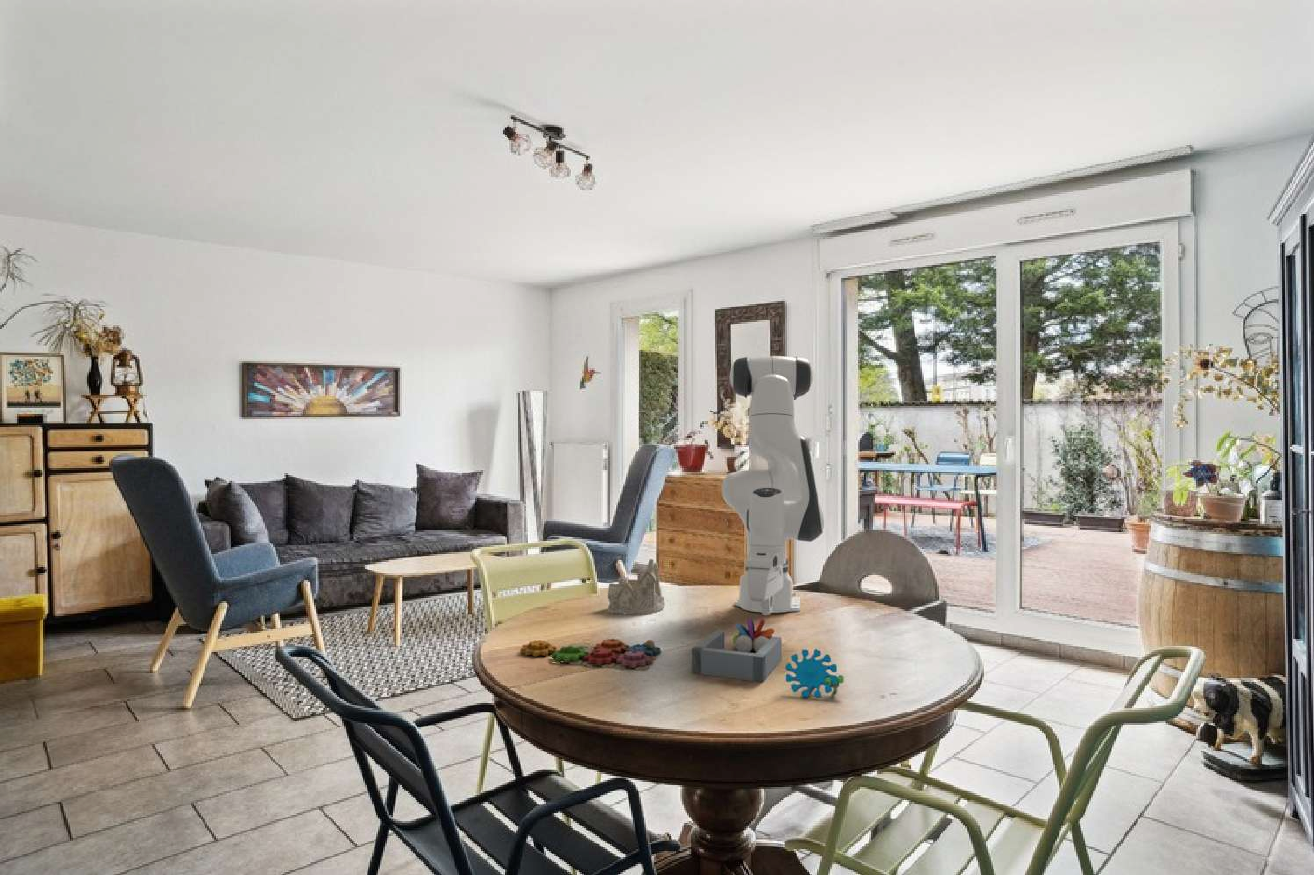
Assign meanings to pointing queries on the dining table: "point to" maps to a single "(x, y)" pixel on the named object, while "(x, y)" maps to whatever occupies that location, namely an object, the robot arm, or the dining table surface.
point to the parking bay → (735, 659)
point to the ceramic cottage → (637, 593)
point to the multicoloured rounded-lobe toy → (751, 637)
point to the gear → (813, 674)
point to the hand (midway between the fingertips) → (767, 614)
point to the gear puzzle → (598, 653)
